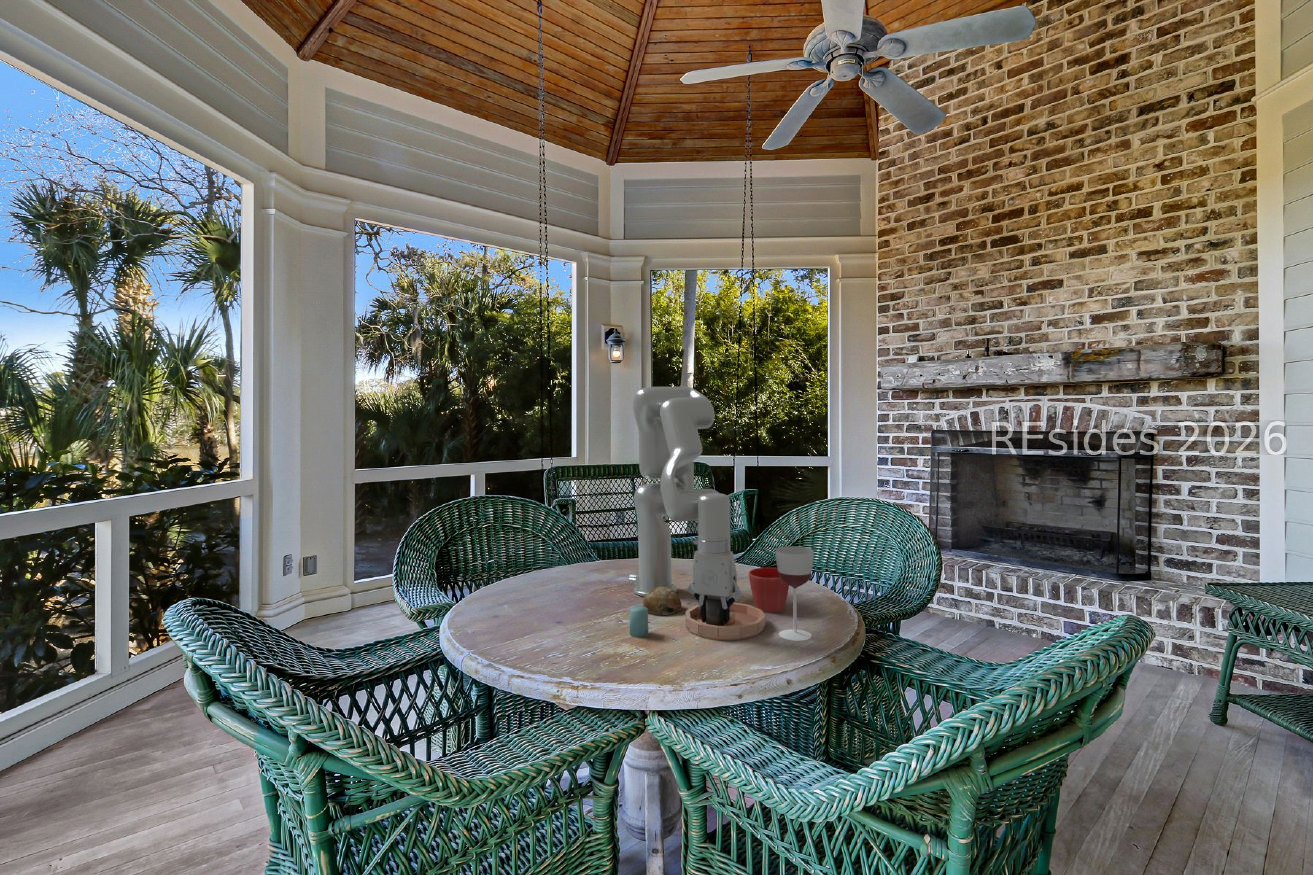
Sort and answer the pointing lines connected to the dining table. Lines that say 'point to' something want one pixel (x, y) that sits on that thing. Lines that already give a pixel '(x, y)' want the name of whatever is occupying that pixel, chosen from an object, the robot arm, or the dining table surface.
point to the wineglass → (794, 580)
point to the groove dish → (740, 625)
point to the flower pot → (768, 590)
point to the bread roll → (662, 601)
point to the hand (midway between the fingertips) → (715, 621)
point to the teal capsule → (638, 621)
